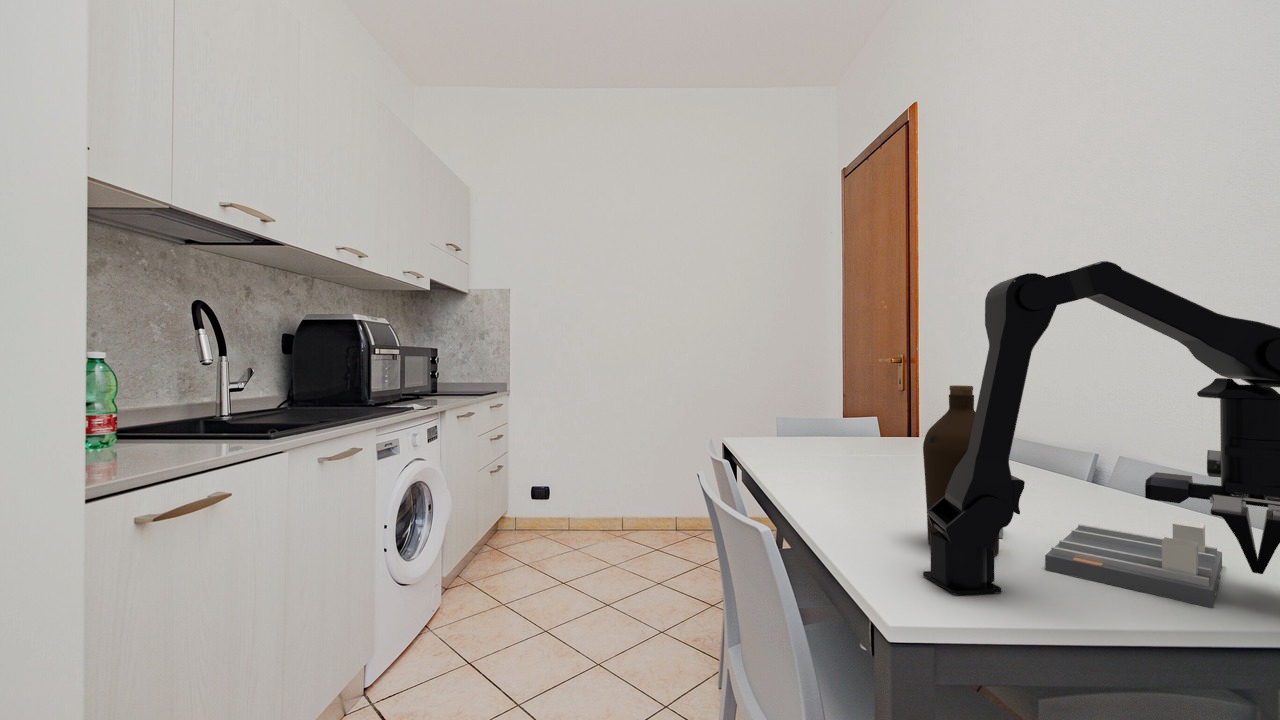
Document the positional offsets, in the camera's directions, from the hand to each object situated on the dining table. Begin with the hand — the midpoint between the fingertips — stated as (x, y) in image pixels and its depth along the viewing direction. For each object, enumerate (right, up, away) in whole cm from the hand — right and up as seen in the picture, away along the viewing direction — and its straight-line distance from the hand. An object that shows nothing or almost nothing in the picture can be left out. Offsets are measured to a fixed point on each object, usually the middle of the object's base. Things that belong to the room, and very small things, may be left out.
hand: (1257, 572), depth 64 cm
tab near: (-4, -2, +5) cm, 7 cm away
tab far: (+5, -2, +13) cm, 14 cm away
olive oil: (-22, -5, +21) cm, 31 cm away
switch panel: (-3, -4, +13) cm, 14 cm away
